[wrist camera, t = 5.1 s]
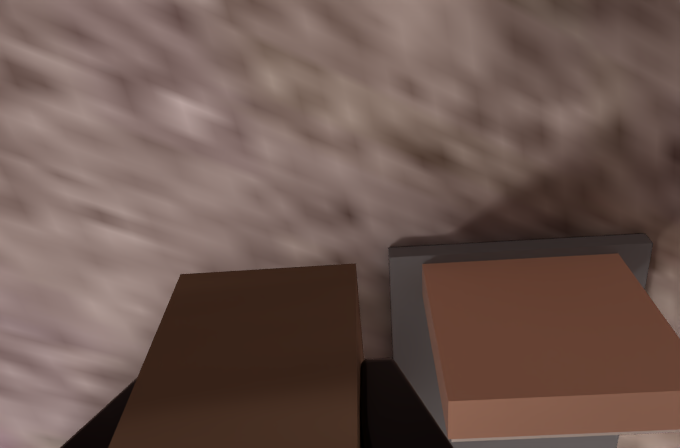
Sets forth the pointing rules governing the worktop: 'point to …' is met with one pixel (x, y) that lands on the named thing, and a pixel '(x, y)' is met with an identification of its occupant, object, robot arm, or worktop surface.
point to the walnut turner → (252, 363)
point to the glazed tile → (549, 349)
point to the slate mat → (407, 261)
